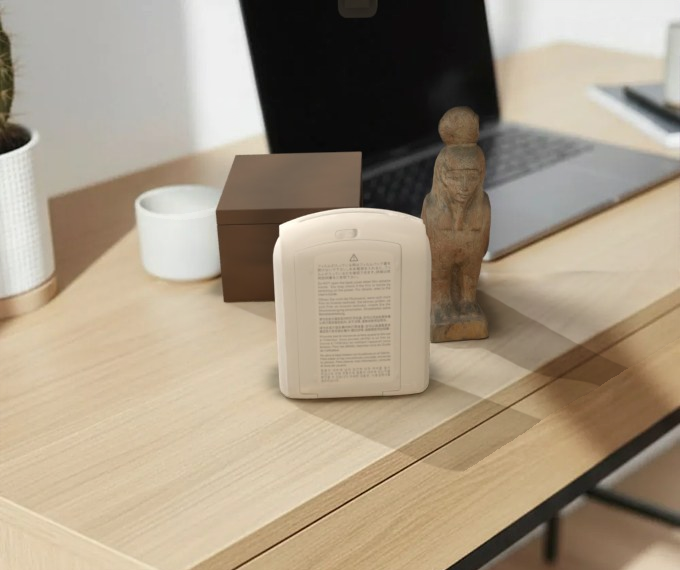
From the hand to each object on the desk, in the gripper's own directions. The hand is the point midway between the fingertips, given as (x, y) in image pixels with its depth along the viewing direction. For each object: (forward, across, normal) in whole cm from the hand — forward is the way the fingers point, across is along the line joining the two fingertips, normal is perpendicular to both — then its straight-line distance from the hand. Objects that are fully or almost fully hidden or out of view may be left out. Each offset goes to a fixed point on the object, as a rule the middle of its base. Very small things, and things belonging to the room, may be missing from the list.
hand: (359, 3), depth 72 cm
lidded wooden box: (+24, +20, +6) cm, 32 cm away
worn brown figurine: (+24, +10, -6) cm, 27 cm away
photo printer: (+24, -3, 0) cm, 24 cm away
